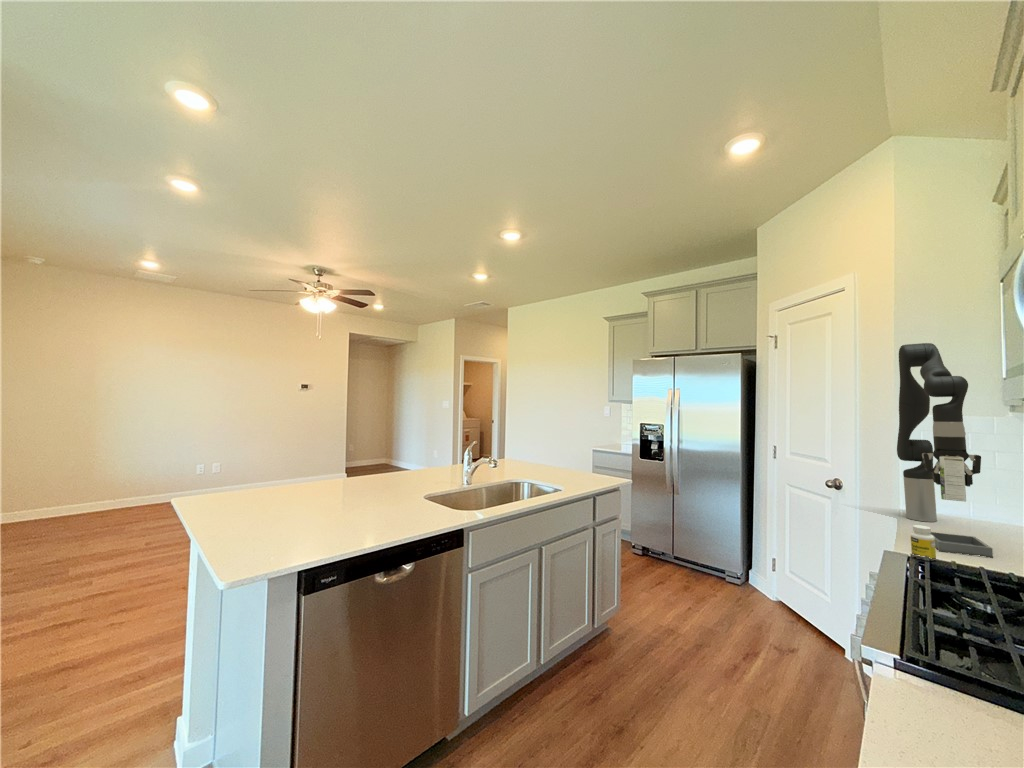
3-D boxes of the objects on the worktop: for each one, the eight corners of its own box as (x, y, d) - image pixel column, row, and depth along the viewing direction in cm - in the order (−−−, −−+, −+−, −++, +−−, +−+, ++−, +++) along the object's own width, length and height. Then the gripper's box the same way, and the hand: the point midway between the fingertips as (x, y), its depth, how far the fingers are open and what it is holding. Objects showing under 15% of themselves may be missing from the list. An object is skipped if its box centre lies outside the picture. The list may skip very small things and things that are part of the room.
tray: (926, 540, 148) (926, 531, 148) (975, 545, 141) (974, 536, 142) (939, 551, 136) (938, 541, 136) (992, 558, 130) (992, 548, 130)
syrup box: (941, 497, 144) (938, 454, 145) (966, 499, 140) (963, 455, 141) (941, 499, 140) (938, 455, 141) (967, 502, 136) (963, 457, 137)
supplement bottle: (908, 557, 131) (905, 525, 131) (917, 555, 133) (915, 523, 134) (930, 563, 126) (928, 529, 126) (940, 560, 128) (937, 527, 129)
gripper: (975, 435, 141) (979, 485, 139) (916, 434, 148) (920, 481, 147) (984, 436, 134) (988, 489, 133) (922, 435, 142) (926, 485, 141)
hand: (952, 485), depth 140 cm, fingers closed on syrup box, 6 cm apart
